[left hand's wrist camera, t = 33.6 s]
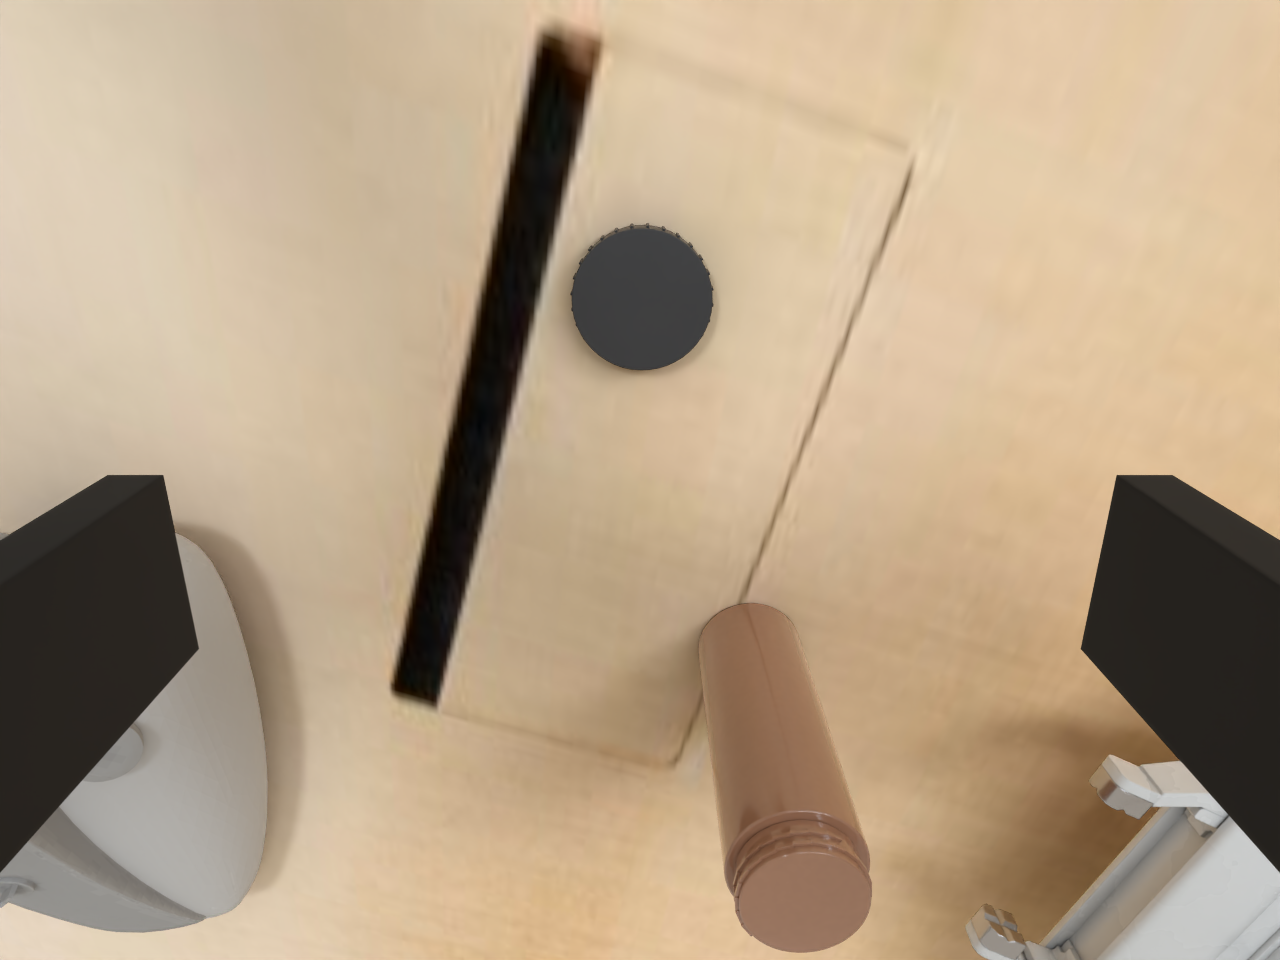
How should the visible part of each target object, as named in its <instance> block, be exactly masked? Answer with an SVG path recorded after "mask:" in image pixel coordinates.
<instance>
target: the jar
mask: <svg viewBox="0 0 1280 960" xmlns="http://www.w3.org/2000/svg"><path fill="white" fill-rule="evenodd" d="M698 653H699V662H700V670H701V679H702V688H703V696H704V705H705V713H706V722H707V730H708V739H709V748H710V756H711V765H712V773H713V782H714V790H715V799H716V808H717V816H718V825H719V833H720V842H721V850H722V859H723V867H724V875H725V880H726V883H727V886H728V888H729V890H730V892H731V894H732V895H733V896H734V901H735V911H736V914H737V916H738V919H739V921H740V923H741V926H742V927H743V928H744V929H745V930H746V931H747V932H748V934H749V935H750V936H754V937H755V938H756V939H758V940H759V941H760V942H762V943H764V944H766V945H768V946H770V947H772V948H775V949H778V950H782V951H787V952H796V953H805V952H815V951H820V950H824V949H827V948H830V947H833V946H835V945H837V944H839V943H841V942H843V941H845V940H846V939H848V938H849V937H850V936H852V935H853V934H854V933H855V932H856V931H857V930H858V929H859V928H860V927H861V925H862V924H863V923H864V921H865V919H866V917H867V915H868V913H869V909H870V906H871V897H872V882H871V879H870V876H869V869H870V854H869V850H868V847H867V844H866V841H865V838H864V834H863V831H862V828H861V825H860V822H859V819H858V816H857V813H856V810H855V807H854V804H853V801H852V798H851V795H850V792H849V789H848V786H847V783H846V780H845V776H844V773H843V770H842V767H841V764H840V761H839V758H838V755H837V752H836V749H835V746H834V743H833V740H832V737H831V734H830V731H829V728H828V725H827V722H826V719H825V715H824V712H823V709H822V706H821V703H820V700H819V697H818V694H817V691H816V688H815V685H814V682H813V679H812V676H811V673H810V670H809V667H808V664H807V661H806V657H805V654H804V651H803V648H802V645H801V642H800V639H799V636H798V633H797V631H796V628H795V627H794V625H793V623H792V622H791V621H790V620H789V618H787V617H786V616H785V615H784V614H783V613H781V612H780V611H778V610H776V609H774V608H772V607H769V606H767V605H762V604H755V603H746V604H739V605H735V606H732V607H729V608H727V609H725V610H723V611H721V612H720V613H718V614H717V615H716V616H714V617H713V618H712V619H711V620H710V621H709V623H708V624H707V625H706V627H705V628H704V630H703V632H702V634H701V637H700V640H699V645H698Z"/></svg>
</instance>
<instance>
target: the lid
mask: <svg viewBox="0 0 1280 960" xmlns="http://www.w3.org/2000/svg"><path fill="white" fill-rule="evenodd" d="M692 247H693V246H692V244H691V243H690V242H689V243H687V242H686V241H685V240H684V239H682V238H681V237H680V235H679V233H676V234H674V233H673V232H671V231H668V230H666V229H665V227H664V226H662V228H660V227H655V226H649V223H646V225H634V226H633V224H631V225H630V226H629V227H624V228H621V229H618V228H615V231H614V232H612V233H610V234H608V235H606V236H605V237H604V235H603V236H601V238H600V240H599V241H598V242H597V243H596V244H595V245H594V246H593V247H592V246H590V248H589V249H588V251H589V252H588V253H587V255H586V256H585V258H584V259H581V261H580V263H579V264H580V267H579V269H578V271H577V273H575V275H574V277H573V279H574V284H573V289H572V291H571V295H572V311H573V314H574V319H575V322H576V326H577V327H578V329H579V331H580V333H581V335H582V337H583V339H584V340H585V341H586V343H587V344H588V345H589V346H590V347H591V349H592V350H593V351H594V352H596V353H597V354H598V355H599V356H601V357H602V358H604V359H605V360H607V361H608V362H610V363H612V364H614V365H617V366H620V367H623V368H627V369H632V370H652V369H657V368H661V367H664V366H667V365H670V364H672V363H674V362H676V361H677V360H679V359H681V358H682V357H684V356H685V355H686V354H687V353H689V352H690V351H691V350H692V349H693V348H694V347H695V345H696V344H697V343H698V342H699V340H700V339H701V337H702V336H703V335H704V332H705V330H706V328H707V325H708V323H709V322H710V316H711V311H712V307H713V302H712V291H713V287H712V285H711V282H710V279H709V275H710V273H709V271H708V269H706V268H705V266H704V264H703V263H702V260H703V259H702V257H701V255H698V254H697V253H696V252H695V250H694V249H693V248H692Z"/></svg>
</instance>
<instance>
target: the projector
mask: <svg viewBox="0 0 1280 960" xmlns="http://www.w3.org/2000/svg"><path fill="white" fill-rule="evenodd" d="M8 535H9V534H5V533H0V540H2V539H3V538H5V537H6V536H8ZM175 535H176V539H177V544H178V549H179V554H180V559H181V564H182V568H183V573H184V578H185V583H186V588H187V593H188V597H189V602H190V607H191V612H192V617H193V621H194V626H195V631H196V636H197V641H198V646H199V650H198V651H197V652H196V653H195V654H194V655H193V656H192V657H191V659H190V660H189V661H188V662H187V663H186V664H185V665H184V666H183V668H182V669H181V670H180V671H179V672H178V673H177V674H176V675H175V677H174V678H173V679H172V680H171V681H170V682H169V683H168V684H167V686H166V687H165V688H164V689H163V690H162V691H161V692H160V693H159V695H158V696H157V697H156V698H155V699H154V700H153V701H152V703H151V704H150V705H149V706H148V707H147V708H146V709H145V710H144V712H143V713H142V714H141V715H140V716H139V717H138V718H137V719H136V721H135V722H134V723H133V724H132V725H131V726H130V727H129V728H128V730H127V731H126V732H125V733H124V734H123V735H122V736H121V737H120V739H119V740H118V741H117V742H116V743H115V744H114V745H113V746H112V748H111V749H110V750H109V751H108V752H107V753H106V754H105V755H104V757H103V758H102V759H101V760H100V761H99V762H98V763H97V764H96V766H95V767H94V768H93V769H92V770H91V771H90V772H89V773H88V775H87V776H86V777H85V778H84V779H83V780H82V781H81V782H80V784H79V785H78V786H77V787H76V788H75V789H74V790H73V791H72V793H71V794H70V795H69V796H68V797H67V798H66V799H65V800H64V802H63V803H62V804H61V805H60V806H59V807H58V808H57V809H56V811H55V812H54V813H53V814H52V815H51V816H50V817H49V818H48V820H47V821H46V822H45V823H44V824H43V825H42V826H41V827H40V829H39V830H38V831H37V832H36V833H35V834H34V835H33V836H32V838H31V839H30V840H29V841H28V842H27V843H26V844H25V845H24V847H23V848H22V849H21V850H20V851H19V852H18V853H17V855H16V856H15V857H14V858H13V859H12V860H11V861H10V862H9V864H8V865H7V866H6V867H5V868H4V869H3V870H2V871H1V873H0V908H2V907H3V906H4V905H5V904H7V903H8V902H9V903H12V904H15V905H17V906H20V907H23V908H26V909H28V910H32V911H35V912H38V913H41V914H44V915H48V916H51V917H54V918H57V919H61V920H64V921H68V922H71V923H75V924H79V925H83V926H87V927H91V928H95V929H100V930H106V931H114V932H152V931H163V930H169V929H174V928H179V927H184V926H188V925H191V924H195V923H198V922H200V921H203V920H204V919H206V918H211V917H216V916H219V915H222V914H225V913H227V912H229V911H231V910H232V909H234V908H235V907H236V906H237V905H239V904H240V902H241V901H242V899H243V898H244V897H245V895H246V894H247V892H248V891H249V889H250V887H251V885H252V884H253V882H254V879H255V877H256V875H257V872H258V870H259V866H260V863H261V859H262V854H263V848H264V841H265V834H266V825H267V805H268V778H267V759H266V749H265V739H264V733H263V726H262V720H261V713H260V707H259V702H258V697H257V692H256V687H255V682H254V678H253V674H252V670H251V666H250V662H249V658H248V654H247V650H246V646H245V643H244V640H243V636H242V633H241V629H240V626H239V623H238V620H237V617H236V614H235V611H234V608H233V606H232V603H231V600H230V598H229V595H228V593H227V591H226V588H225V586H224V584H223V581H222V579H221V577H220V576H219V574H218V572H217V570H216V569H215V567H214V565H213V563H212V562H211V560H210V559H209V558H208V556H207V555H206V554H205V553H204V552H203V551H202V550H201V549H200V548H199V547H198V546H197V545H196V544H195V543H193V542H192V541H190V540H189V539H187V538H186V537H184V536H181V535H179V534H177V533H175Z"/></svg>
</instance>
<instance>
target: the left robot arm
mask: <svg viewBox="0 0 1280 960" xmlns="http://www.w3.org/2000/svg"><path fill="white" fill-rule="evenodd" d="M198 650H199V646H198V641H197V636H196V631H195V626H194V621H193V617H192V612H191V607H190V602H189V597H188V593H187V588H186V583H185V578H184V573H183V568H182V564H181V559H180V554H179V549H178V544H177V539H176V535H175V530H174V525H173V520H172V515H171V510H170V506H169V501H168V496H167V491H166V486H165V481H164V477H163V475H107V476H105V477H104V478H102V479H101V480H99V481H97V482H96V483H94V484H92V485H91V486H89V487H87V488H86V489H84V490H82V491H81V492H79V493H77V494H76V495H74V496H72V497H71V498H69V499H68V500H66V501H64V502H63V503H61V504H59V505H58V506H56V507H54V508H53V509H51V510H49V511H48V512H46V513H44V514H43V515H41V516H39V517H38V518H36V519H35V520H33V521H31V522H30V523H28V524H26V525H25V526H23V527H21V528H20V529H18V530H16V531H15V532H13V533H11V534H10V535H8V536H6V537H5V538H3V539H2V540H0V873H1V871H2V870H3V869H4V868H5V867H6V866H7V865H8V864H9V862H10V861H11V860H12V859H13V858H14V857H15V856H16V855H17V853H18V852H19V851H20V850H21V849H22V848H23V847H24V845H25V844H26V843H27V842H28V841H29V840H30V839H31V838H32V836H33V835H34V834H35V833H36V832H37V831H38V830H39V829H40V827H41V826H42V825H43V824H44V823H45V822H46V821H47V820H48V818H49V817H50V816H51V815H52V814H53V813H54V812H55V811H56V809H57V808H58V807H59V806H60V805H61V804H62V803H63V802H64V800H65V799H66V798H67V797H68V796H69V795H70V794H71V793H72V791H73V790H74V789H75V788H76V787H77V786H78V785H79V784H80V782H81V781H82V780H83V779H84V778H85V777H86V776H87V775H88V773H89V772H90V771H91V770H92V769H93V768H94V767H95V766H96V764H97V763H98V762H99V761H100V760H101V759H102V758H103V757H104V755H105V754H106V753H107V752H108V751H109V750H110V749H111V748H112V746H113V745H114V744H115V743H116V742H117V741H118V740H119V739H120V737H121V736H122V735H123V734H124V733H125V732H126V731H127V730H128V728H129V727H130V726H131V725H132V724H133V723H134V722H135V721H136V719H137V718H138V717H139V716H140V715H141V714H142V713H143V712H144V710H145V709H146V708H147V707H148V706H149V705H150V704H151V703H152V701H153V700H154V699H155V698H156V697H157V696H158V695H159V693H160V692H161V691H162V690H163V689H164V688H165V687H166V686H167V684H168V683H169V682H170V681H171V680H172V679H173V678H174V677H175V675H176V674H177V673H178V672H179V671H180V670H181V669H182V668H183V666H184V665H185V664H186V663H187V662H188V661H189V660H190V659H191V657H192V656H193V655H194V654H195V653H196V652H197V651H198ZM1081 650H1082V651H1083V652H1084V653H1085V654H1086V655H1087V656H1088V657H1089V659H1090V660H1091V661H1092V662H1093V663H1094V664H1095V665H1096V666H1097V668H1098V669H1099V670H1100V671H1101V672H1102V673H1103V674H1104V675H1105V677H1106V678H1107V679H1108V680H1109V681H1110V682H1111V683H1112V684H1113V686H1114V687H1115V688H1116V689H1117V690H1118V691H1119V692H1120V693H1121V695H1122V696H1123V697H1124V698H1125V699H1126V700H1127V701H1128V703H1129V704H1130V705H1131V706H1132V707H1133V708H1134V709H1135V710H1136V712H1137V713H1138V714H1139V715H1140V716H1141V717H1142V718H1143V719H1144V721H1145V722H1146V723H1147V724H1148V725H1149V726H1150V727H1151V728H1152V730H1153V731H1154V732H1155V733H1156V734H1157V735H1158V736H1159V737H1160V739H1161V740H1162V741H1163V742H1164V743H1165V744H1166V745H1167V746H1168V748H1169V749H1170V750H1171V751H1172V752H1173V753H1174V754H1175V755H1176V757H1177V758H1178V759H1179V760H1180V761H1181V762H1182V763H1183V764H1184V766H1185V767H1186V768H1187V769H1188V770H1189V771H1190V772H1191V773H1192V775H1193V776H1194V777H1195V778H1196V779H1197V780H1198V781H1199V782H1200V784H1201V785H1202V786H1203V787H1204V788H1205V789H1206V790H1207V791H1208V793H1209V794H1210V795H1211V796H1212V797H1213V798H1214V799H1215V800H1216V802H1217V803H1218V804H1219V805H1220V806H1221V807H1222V808H1223V809H1224V811H1225V812H1226V813H1227V814H1228V815H1229V816H1230V817H1231V818H1232V820H1233V821H1234V822H1235V823H1236V824H1237V825H1238V826H1239V827H1240V829H1241V830H1242V831H1243V832H1244V833H1245V834H1246V835H1247V836H1248V838H1249V839H1250V840H1251V841H1252V842H1253V843H1254V844H1255V845H1256V847H1257V848H1258V849H1259V850H1260V851H1261V852H1262V853H1263V855H1264V856H1265V857H1266V858H1267V859H1268V860H1269V861H1270V862H1271V864H1272V865H1273V866H1274V867H1275V868H1276V869H1277V870H1278V871H1279V873H1280V540H1278V539H1277V538H1275V537H1274V536H1272V535H1270V534H1269V533H1267V532H1265V531H1264V530H1262V529H1260V528H1259V527H1257V526H1255V525H1254V524H1252V523H1250V522H1249V521H1247V520H1245V519H1244V518H1242V517H1241V516H1239V515H1237V514H1236V513H1234V512H1232V511H1231V510H1229V509H1227V508H1226V507H1224V506H1222V505H1221V504H1219V503H1217V502H1216V501H1214V500H1212V499H1211V498H1209V497H1208V496H1206V495H1204V494H1203V493H1201V492H1199V491H1198V490H1196V489H1194V488H1193V487H1191V486H1189V485H1188V484H1186V483H1184V482H1183V481H1181V480H1180V479H1178V478H1176V477H1175V476H1173V475H1117V477H1116V481H1115V486H1114V491H1113V496H1112V501H1111V506H1110V510H1109V515H1108V520H1107V525H1106V530H1105V535H1104V539H1103V544H1102V549H1101V554H1100V559H1099V564H1098V568H1097V573H1096V578H1095V583H1094V588H1093V593H1092V597H1091V602H1090V607H1089V612H1088V617H1087V621H1086V626H1085V631H1084V636H1083V641H1082V646H1081Z"/></svg>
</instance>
